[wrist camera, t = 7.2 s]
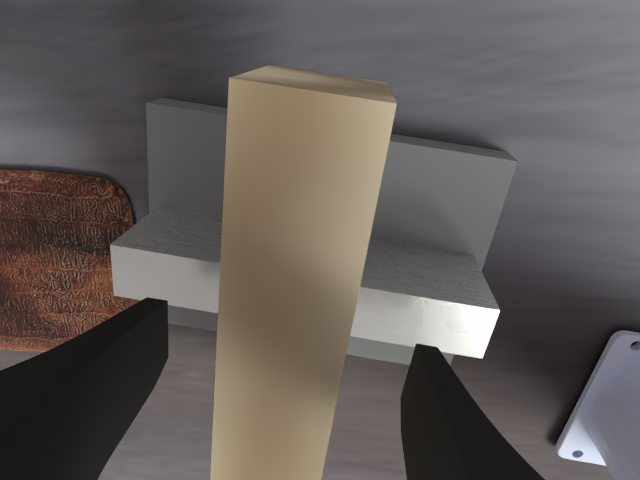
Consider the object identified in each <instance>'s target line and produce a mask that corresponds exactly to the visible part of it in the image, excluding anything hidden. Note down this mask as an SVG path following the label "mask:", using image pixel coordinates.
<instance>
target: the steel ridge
mask: <svg viewBox="0 0 640 480" xmlns="http://www.w3.org/2000/svg"><path fill="white" fill-rule="evenodd" d="M222 218H223V214H219V213H213V212H207V211H201V210H195V209H189V208H183V207H177V206H171V205H165V204H160V205H158V206H157V207H156V208H155V209H153V210H152V211H151V212H150V213H148V214H147V215H146V216H145V217H144V218H142V219H141V220H140V221H139V222H137V223H136V224H135V225H134V226H133V227H131V228H130V229H129V230H128V231H126V232H125V233H124V234H123V235H122V236H120V237H119V238H118V239H117V240H115V241H114V242H113V243H112V244H110V251H111V265H112V279H113V293H114V296H119V297H125V298H131V299H137V300H143V299H145V298H147V297H149V298H155V299H161V300H167V301H168V305H172V306H178V307H184V308H189V309H195V310H201V311H207V312H213V313H218V305H219V283H220V262H221V240H222ZM499 313H500V309H499V307H498V305H497V302H496V300H495V298H494V296H493V294H492V292H491V290H490V288H489V286H488V284H487V282H486V279H485V277H484V275H483V273H482V271H481V269H480V267H479V265H478V263H477V261H476V259H475V256H474V255H469V254H463V253H457V252H451V251H444V250H438V249H432V248H426V247H420V246H414V245H408V244H402V243H396V242H390V241H384V240H378V239H371V238H370V240H369V245H368V250H367V255H366V259H365V264H364V269H363V274H362V279H361V284H360V289H359V294H358V299H357V304H356V309H355V314H354V319H353V324H352V329H351V334H350V336H353V337H358V338H364V339H370V340H376V341H382V342H387V343H393V344H399V345H405V346H411V347H415V345H416V343H417V344H423V345H429V346H434V347H438V348H439V350H440V351H441V352H446V353H452V354H457V355H463V356H469V357H475V358H481V359H483V356H484V353H485V351H486V348H487V345H488V342H489V340H490V337H491V334H492V332H493V329H494V326H495V323H496V321H497V318H498V315H499Z"/></svg>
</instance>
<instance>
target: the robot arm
mask: <svg viewBox="0 0 640 480" xmlns="http://www.w3.org/2000/svg"><path fill="white" fill-rule="evenodd" d="M635 341H638V342H637V343H636V344H634V345H631V344H632V343H633V342H635ZM167 359H168V301H167V300H161V299H155V298H149V297H147V298H145V299H143V300H141V301H139V302H137V303H135V304H134V305H132V306H130V307H128V308H127V309H125V310H123V311H121V312H120V313H118V314H116V315H115V316H113V317H111V318H109V319H107V320H106V321H104V322H102V323H100V324H99V325H97V326H95V327H93V328H91V329H90V330H88V331H86V332H84V333H82V334H80V335H78V336H76V337H74V338H72V339H70V340H68V341H66V342H64V343H62V344H60V345H58V346H56V347H54V348H52V349H50V350H48V351H46V352H44V353H42V354H40V355H37V356H35V357H33V358H30V359H28V360H26V361H23V362H21V363H18V364H16V365H14V366H11V367H9V368H6V369H3V370H1V371H0V480H98V478H99V476H100V474H101V472H102V470H103V468H104V467H105V465H106V463H107V461H108V460H109V458H110V456H111V455H112V453H113V452H114V450H115V448H116V447H117V445H118V444H119V442H120V441H121V439H122V437H123V436H124V434H125V433H126V431H127V430H128V428H129V427H130V425H131V423H132V422H133V420H134V419H135V417H136V416H137V414H138V412H139V411H140V409H141V408H142V406H143V405H144V403H145V401H146V400H147V398H148V397H149V395H150V393H151V392H152V390H153V389H154V387H155V385H156V383H157V381H158V378H159V376H160V374H161V372H162V370H163V368H164V365H165V363H166V361H167ZM401 436H402V444H403V452H404V459H405V467H406V474H407V480H545V479H544V478H542V477H541V476H540V475H539V474H538V473H537V472H536V471H535V470H534V469H533V468H532V467H531V466H530V465H529V464H528V463H527V462H526V461H525V460H524V459H523V458H522V457H521V456H520V454H519V453H518V452H517V451H516V450H515V449H514V448H513V447H512V446H511V445H510V444H509V443H508V442H507V441H506V439H505V438H504V437H503V436H502V435H501V434H500V433H499V431H498V430H497V429H496V428H495V427H494V425H493V424H492V423H491V422H490V420H489V419H488V418H487V417H486V416H485V414H484V413H483V412H482V410H481V409H480V408H479V406H478V405H477V404H476V402H475V401H474V400H473V398H472V397H471V395H470V394H469V393H468V391H467V390H466V389H465V387H464V386H463V384H462V383H461V381H460V380H459V378H458V377H457V375H456V374H455V372H454V371H453V369H452V368H451V366H450V365H449V363H448V362H447V360H446V359H445V357H444V356H443V354H442V353H441V351H440V350H439V348H438V347H434V346H429V345H423V344H417V343H416V345H415V349H414V352H413V356H412V360H411V363H410V367H409V370H408V374H407V377H406V381H405V384H404V388H403V391H402V395H401ZM555 449H556V451H557V453H558V455H559V456H560V457H562V458H566V459H571V460H577V461H583V462H588V463H594V464H600V465H605V466H607V467H608V469H609V471H610V473H611V475H612V477H613V478H614V480H640V333H638V332H632V331H625V330H621V331H618V332H616V333H614V334H613V335H612V336H611V337H610V339H609V341H608V343H607V345H606V347H605V349H604V351H603V353H602V355H601V357H600V359H599V361H598V363H597V365H596V367H595V369H594V371H593V373H592V374H591V376H590V378H589V380H588V382H587V384H586V386H585V388H584V390H583V392H582V394H581V396H580V398H579V400H578V402H577V404H576V406H575V408H574V410H573V412H572V414H571V416H570V418H569V420H568V422H567V424H566V426H565V428H564V430H563V432H562V433H561V435H560V437H559V439H558V441H557V443H556V446H555ZM576 450H577V451H576Z"/></svg>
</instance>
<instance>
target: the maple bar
mask: <svg viewBox="0 0 640 480" xmlns="http://www.w3.org/2000/svg"><path fill="white" fill-rule="evenodd" d="M396 106H397V103H396V100H395V98H394V95H393V93H392V90H391V88H390V86H389V83H386V82H380V81H373V80H367V79H360V78H354V77H347V76H341V75H334V74H328V73H321V72H315V71H308V70H301V69H295V68H288V67H282V66H275V65H268V66H265V67H262V68H259V69H256V70H252V71H249V72H246V73H243V74H240V75H236V76H233V77H230V78H229V88H228V109H227V131H226V153H225V175H224V196H223V218H222V240H221V262H220V283H219V305H218V327H217V349H216V370H215V392H214V414H213V436H212V457H211V479H210V480H321V477H322V472H323V467H324V462H325V457H326V452H327V447H328V443H329V438H330V433H331V428H332V423H333V418H334V413H335V408H336V403H337V398H338V393H339V388H340V383H341V378H342V373H343V368H344V363H345V358H346V353H347V349H348V344H349V339H350V334H351V329H352V324H353V319H354V314H355V309H356V304H357V299H358V294H359V289H360V284H361V279H362V274H363V269H364V264H365V259H366V255H367V250H368V245H369V240H370V235H371V230H372V225H373V220H374V215H375V210H376V205H377V200H378V195H379V190H380V185H381V180H382V175H383V170H384V166H385V161H386V156H387V151H388V146H389V141H390V136H391V131H392V126H393V121H394V116H395V111H396Z"/></svg>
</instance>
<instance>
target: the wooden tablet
mask: <svg viewBox="0 0 640 480" xmlns="http://www.w3.org/2000/svg"><path fill="white" fill-rule="evenodd" d="M135 224H136V223H135V216H134V212H133V209H132V205H131V202H130V198H129V197H128V196H127V195H126V193H125V192H124V190H123V189H122V188H121V187H120V186H118V185H117V184H116V183H115V182H112V181H109V180H106V179H103V178H101V177H91V176H80V175H76V174H66V173H56V172H46V171H32V170H10V169H0V349H10V350H21V351H40V352H44V351H48V350H50V349H52V348H54V347H56V346H58V345H60V344H62V343H64V342H66V341H68V340H70V339H72V338H74V337H76V336H78V335H80V334H82V333H84V332H86V331H88V330H90V329H91V328H93V327H95V326H97V325H99V324H100V323H102V322H104V321H106V320H107V319H109V318H111V317H113V316H115V315H116V314H118V313H120V312H121V311H123V310H125V309H127V308H128V307H130V306H132V305H134V304H135V303H137V302H139V301H141V300H137V299H131V298H125V297H119V296H114V293H113V279H112V265H111V251H110V244H112V243H113V242H114V241H115V240H117V239H118V238H119V237H120V236H122V235H123V234H124V233H125V232H126V231H128V230H129V229H130V228H131V227H133V226H134V225H135Z"/></svg>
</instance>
